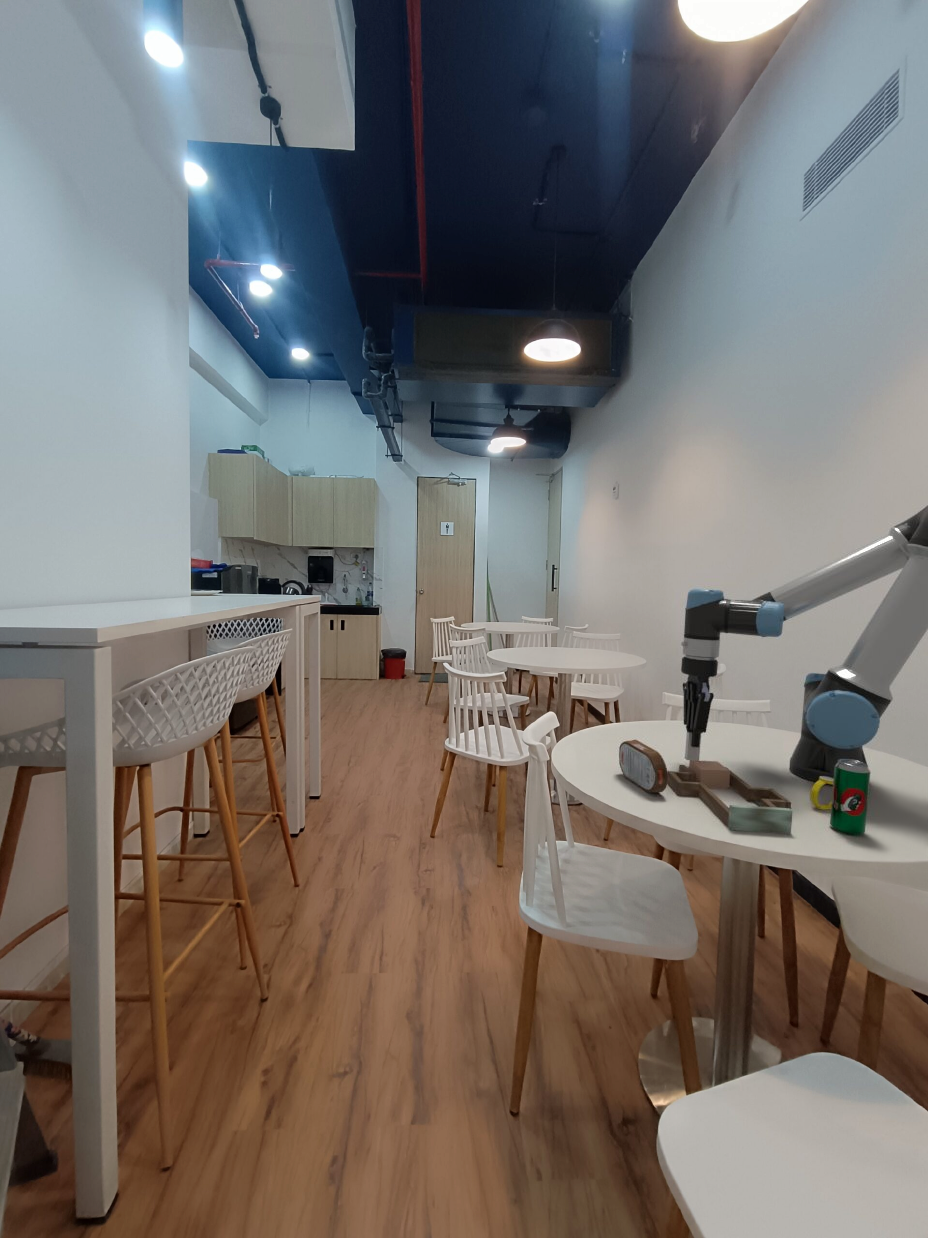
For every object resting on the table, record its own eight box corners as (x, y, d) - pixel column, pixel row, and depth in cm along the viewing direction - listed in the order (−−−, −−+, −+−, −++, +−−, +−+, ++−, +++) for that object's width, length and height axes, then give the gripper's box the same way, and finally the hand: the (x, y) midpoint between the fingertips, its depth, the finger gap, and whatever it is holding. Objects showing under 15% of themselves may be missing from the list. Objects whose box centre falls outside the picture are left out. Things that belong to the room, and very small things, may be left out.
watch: (830, 806, 108) (834, 776, 108) (843, 812, 106) (847, 781, 105) (805, 805, 107) (809, 775, 107) (817, 811, 104) (822, 780, 104)
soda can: (872, 835, 95) (878, 766, 94) (849, 838, 93) (855, 768, 93) (844, 823, 100) (850, 757, 99) (822, 825, 98) (828, 758, 97)
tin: (668, 799, 108) (670, 756, 107) (653, 799, 107) (656, 757, 107) (628, 772, 123) (630, 735, 122) (615, 773, 122) (617, 735, 121)
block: (715, 779, 121) (717, 761, 121) (728, 789, 115) (730, 770, 115) (688, 778, 121) (689, 760, 121) (699, 788, 115) (701, 769, 115)
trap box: (744, 779, 121) (745, 761, 121) (815, 835, 94) (817, 812, 94) (660, 774, 122) (661, 756, 122) (706, 828, 95) (707, 805, 95)
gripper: (673, 652, 132) (666, 749, 134) (693, 660, 119) (684, 767, 121) (706, 654, 132) (698, 752, 134) (728, 662, 119) (720, 770, 121)
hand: (691, 759), depth 127 cm, fingers closed
